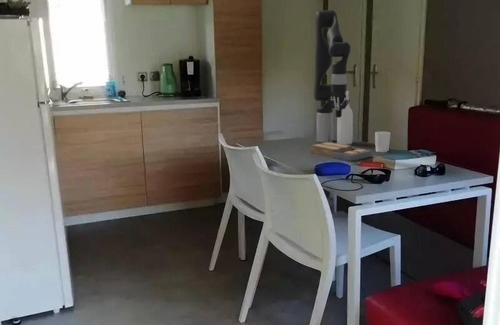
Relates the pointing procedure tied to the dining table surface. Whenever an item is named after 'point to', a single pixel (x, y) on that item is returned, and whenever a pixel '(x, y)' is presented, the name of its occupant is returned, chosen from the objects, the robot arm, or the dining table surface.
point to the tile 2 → (359, 150)
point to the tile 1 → (350, 152)
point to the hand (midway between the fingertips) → (338, 117)
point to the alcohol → (345, 125)
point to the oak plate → (328, 148)
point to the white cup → (382, 141)
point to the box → (352, 157)
